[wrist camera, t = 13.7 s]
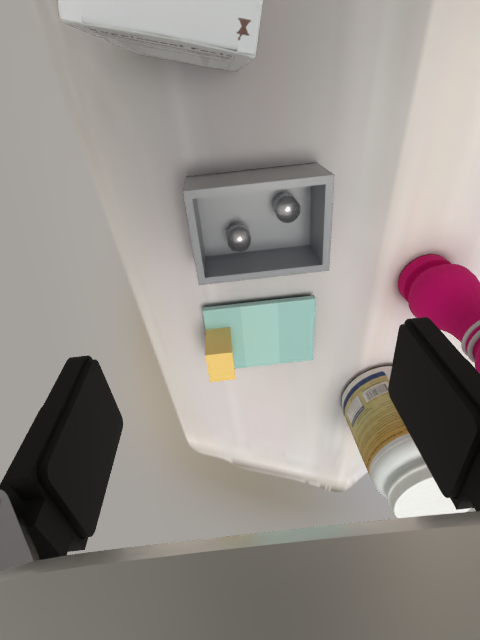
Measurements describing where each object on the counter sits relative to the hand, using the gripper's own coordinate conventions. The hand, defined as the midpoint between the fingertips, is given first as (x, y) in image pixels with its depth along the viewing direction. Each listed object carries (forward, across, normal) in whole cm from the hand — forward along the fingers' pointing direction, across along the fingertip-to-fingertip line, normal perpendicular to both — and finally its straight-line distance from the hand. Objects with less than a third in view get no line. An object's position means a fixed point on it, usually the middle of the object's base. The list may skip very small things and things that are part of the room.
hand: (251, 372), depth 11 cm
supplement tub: (+29, -19, +34) cm, 48 cm away
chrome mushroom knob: (+28, -5, +4) cm, 29 cm away
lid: (+28, -2, +20) cm, 34 cm away
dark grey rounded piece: (+28, 0, +6) cm, 29 cm away
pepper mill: (+30, -22, +15) cm, 40 cm away
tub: (+29, -2, +5) cm, 30 cm away
